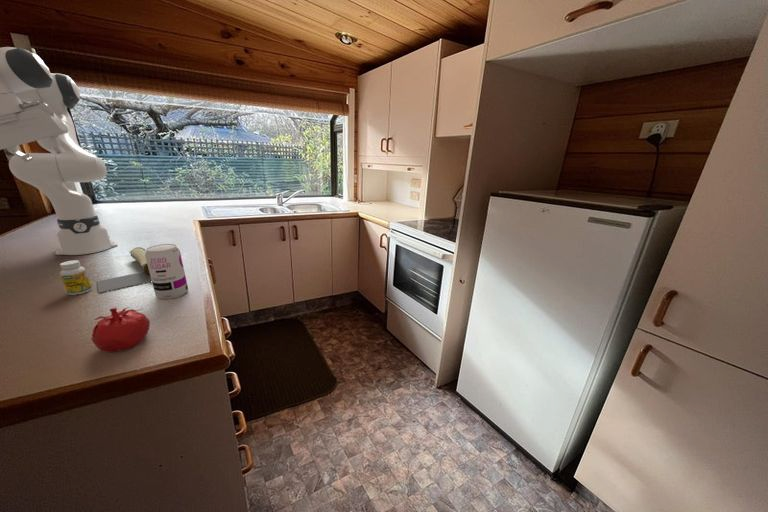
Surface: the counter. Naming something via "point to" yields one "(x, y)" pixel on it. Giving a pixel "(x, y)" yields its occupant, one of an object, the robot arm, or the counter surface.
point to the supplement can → (166, 271)
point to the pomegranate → (120, 330)
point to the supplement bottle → (75, 278)
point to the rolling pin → (140, 258)
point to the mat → (123, 282)
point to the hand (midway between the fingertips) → (45, 157)
